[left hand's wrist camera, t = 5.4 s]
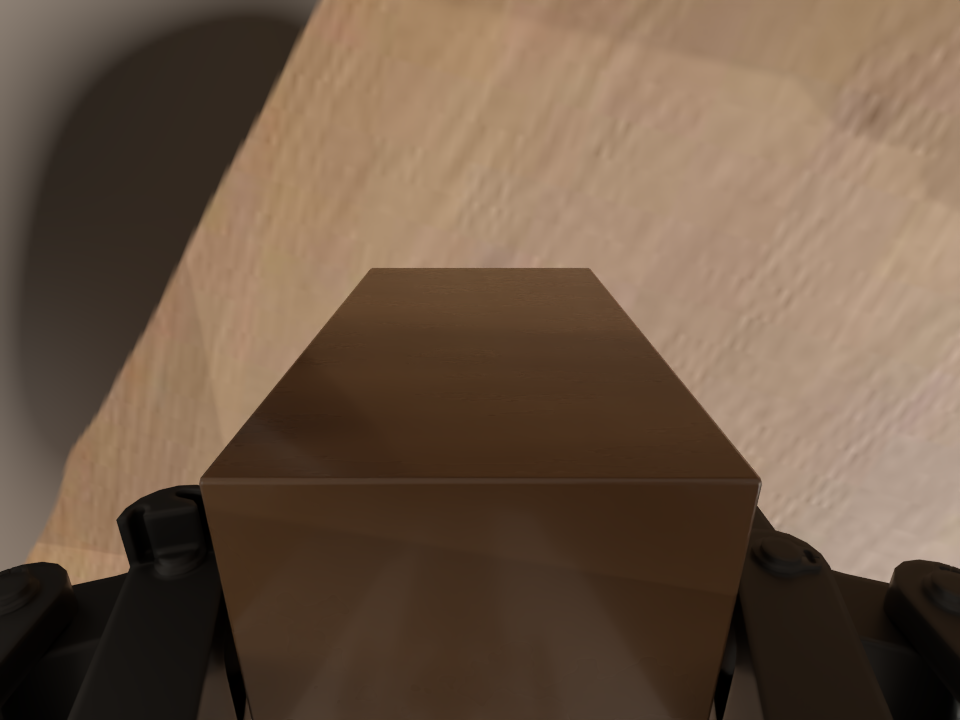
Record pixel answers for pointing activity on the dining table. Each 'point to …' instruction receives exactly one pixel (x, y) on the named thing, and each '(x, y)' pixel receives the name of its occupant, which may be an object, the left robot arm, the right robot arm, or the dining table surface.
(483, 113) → the dining table surface
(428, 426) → the bar
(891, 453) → the dining table surface
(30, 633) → the left robot arm
